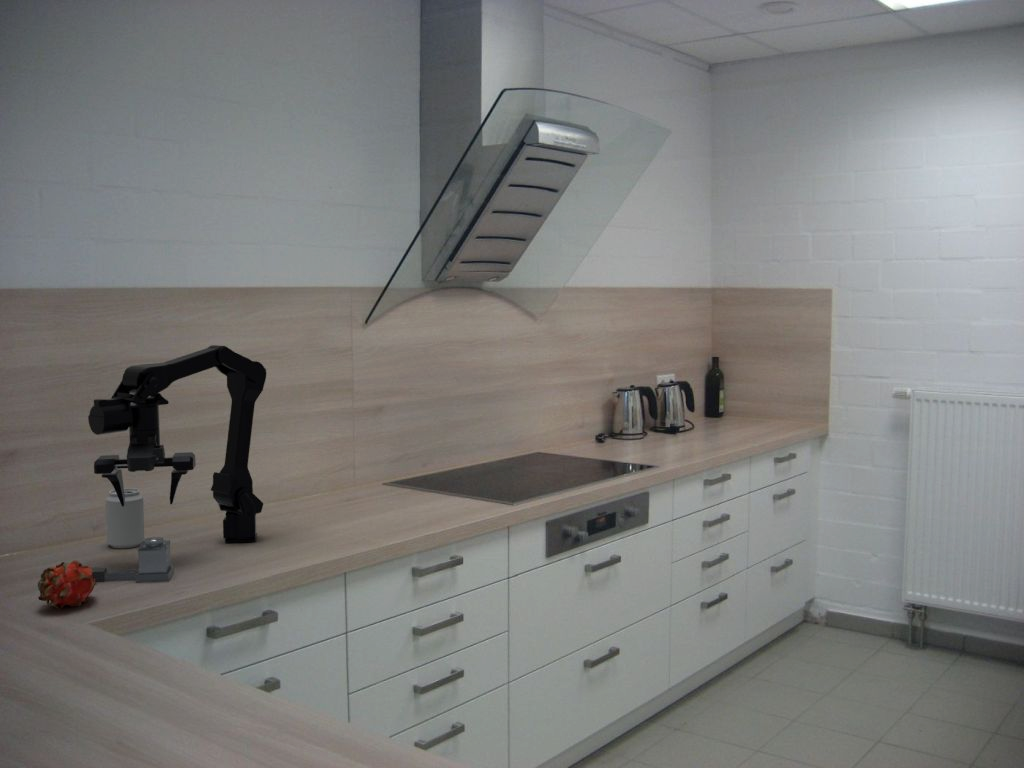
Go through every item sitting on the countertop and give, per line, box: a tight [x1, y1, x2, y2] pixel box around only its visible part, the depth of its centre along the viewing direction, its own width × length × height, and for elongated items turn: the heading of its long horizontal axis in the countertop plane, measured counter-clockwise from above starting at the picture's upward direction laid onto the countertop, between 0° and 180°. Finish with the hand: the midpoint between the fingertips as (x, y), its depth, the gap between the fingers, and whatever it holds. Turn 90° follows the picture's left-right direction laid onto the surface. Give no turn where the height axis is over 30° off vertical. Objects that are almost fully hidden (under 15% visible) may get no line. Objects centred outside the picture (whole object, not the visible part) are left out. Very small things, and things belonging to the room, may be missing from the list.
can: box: [105, 487, 145, 549], centre depth 216 cm, size 8×8×12 cm
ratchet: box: [90, 564, 175, 584], centre depth 191 cm, size 20×6×4 cm, turn 100°
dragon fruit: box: [37, 560, 98, 610], centre depth 176 cm, size 8×8×12 cm
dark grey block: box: [137, 536, 172, 574], centre depth 192 cm, size 5×5×6 cm
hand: (147, 505), depth 203 cm, fingers open, 9 cm apart
